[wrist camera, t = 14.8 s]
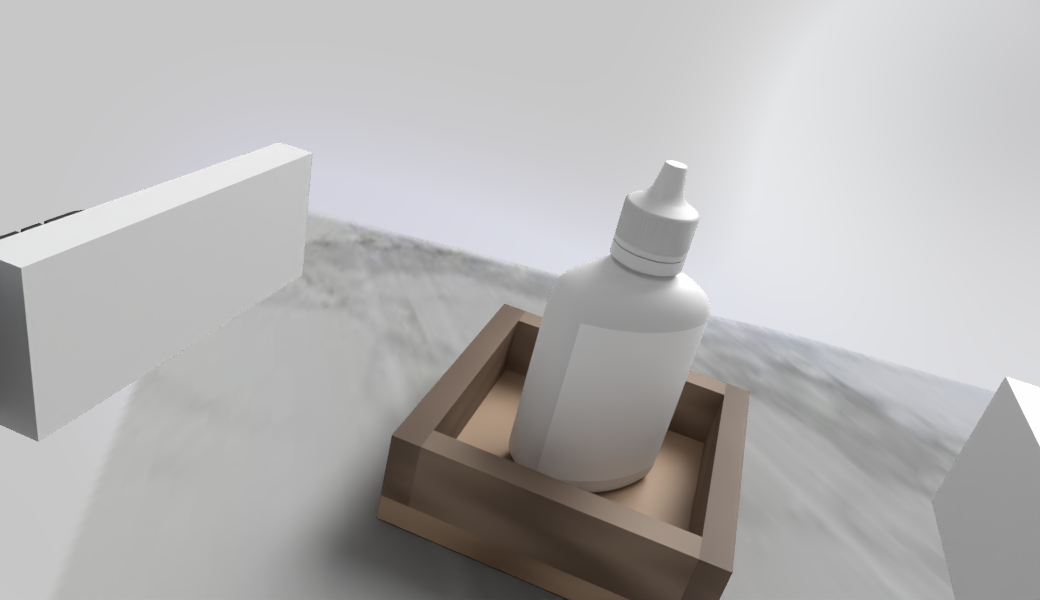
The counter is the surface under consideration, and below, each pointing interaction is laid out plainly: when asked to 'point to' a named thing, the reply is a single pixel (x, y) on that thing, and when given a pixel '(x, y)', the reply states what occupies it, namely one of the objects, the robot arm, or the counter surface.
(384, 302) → the counter surface
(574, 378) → the eye dropper bottle
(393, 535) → the counter surface
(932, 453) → the counter surface
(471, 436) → the walnut socket block
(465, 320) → the counter surface
